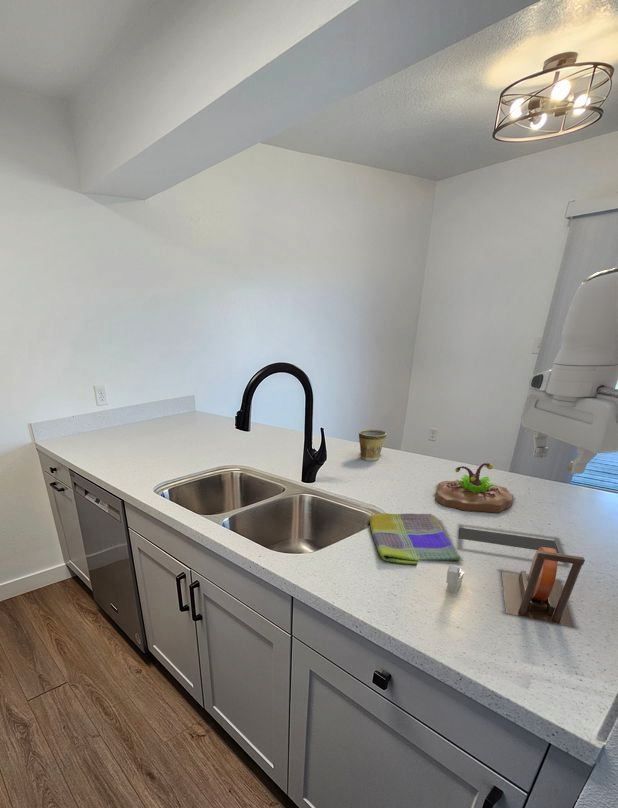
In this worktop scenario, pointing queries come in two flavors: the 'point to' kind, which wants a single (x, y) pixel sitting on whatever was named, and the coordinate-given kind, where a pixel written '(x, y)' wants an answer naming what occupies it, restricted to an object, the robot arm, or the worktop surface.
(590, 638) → the worktop surface
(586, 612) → the worktop surface
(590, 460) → the robot arm
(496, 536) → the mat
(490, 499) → the plant
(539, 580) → the disc
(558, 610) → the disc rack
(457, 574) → the lighter
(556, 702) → the worktop surface
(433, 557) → the dish towel
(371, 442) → the ceramic cup
